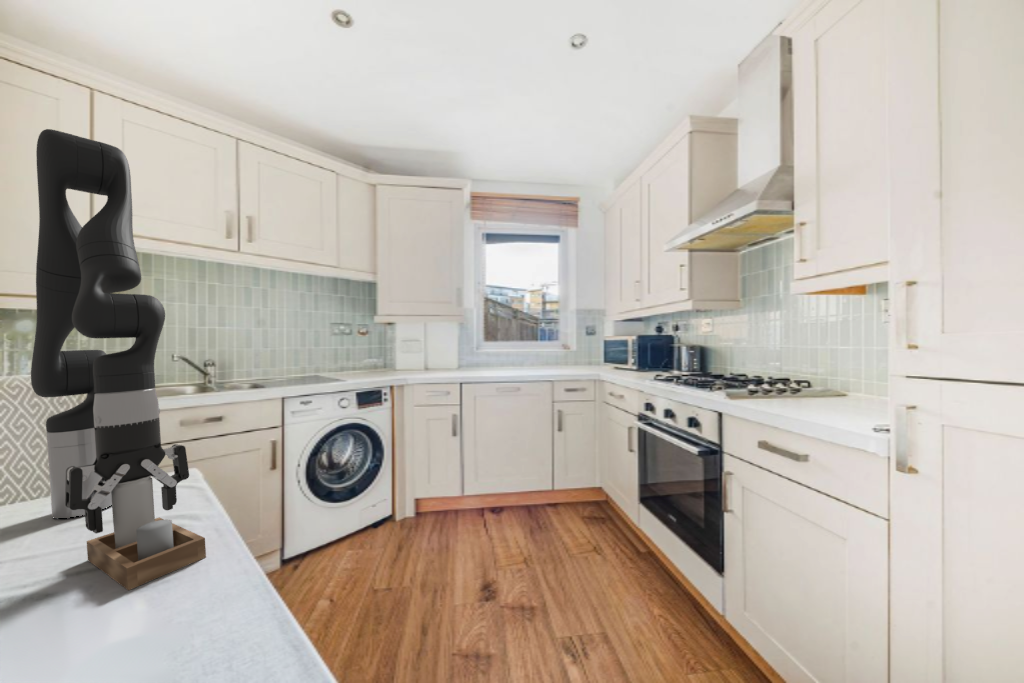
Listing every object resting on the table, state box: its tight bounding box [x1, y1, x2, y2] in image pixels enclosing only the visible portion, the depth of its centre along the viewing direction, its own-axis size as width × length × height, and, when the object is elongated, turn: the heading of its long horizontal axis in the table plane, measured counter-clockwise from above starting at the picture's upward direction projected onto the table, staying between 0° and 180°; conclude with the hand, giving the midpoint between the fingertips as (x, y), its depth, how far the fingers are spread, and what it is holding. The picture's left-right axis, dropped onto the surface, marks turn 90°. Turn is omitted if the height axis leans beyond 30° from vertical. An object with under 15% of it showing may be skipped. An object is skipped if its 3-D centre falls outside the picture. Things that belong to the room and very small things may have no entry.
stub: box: [136, 518, 174, 561], centre depth 60 cm, size 4×4×6 cm
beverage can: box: [111, 475, 156, 549], centre depth 64 cm, size 5×5×12 cm
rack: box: [86, 517, 207, 591], centre depth 62 cm, size 17×9×3 cm, turn 59°
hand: (134, 519), depth 64 cm, fingers open, 8 cm apart
